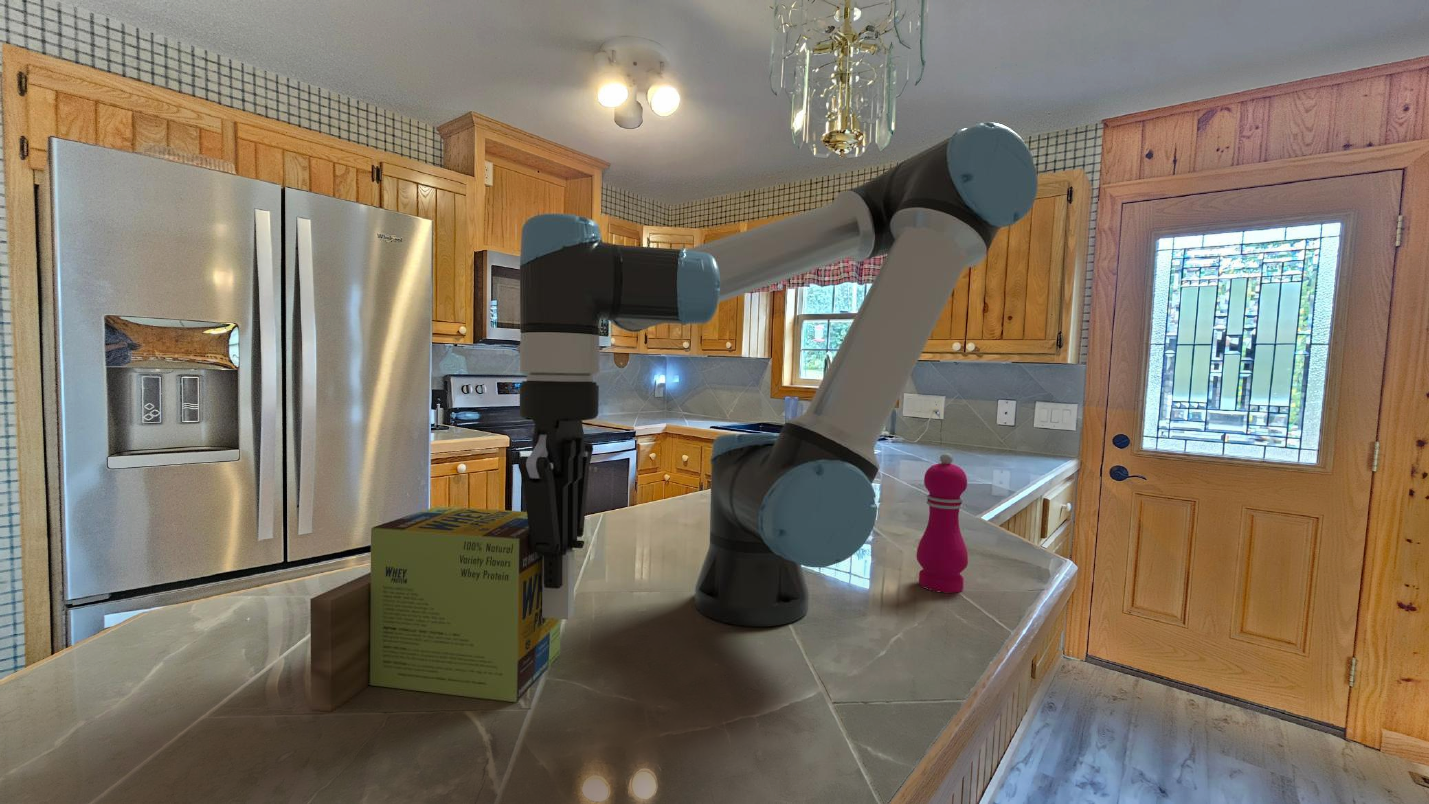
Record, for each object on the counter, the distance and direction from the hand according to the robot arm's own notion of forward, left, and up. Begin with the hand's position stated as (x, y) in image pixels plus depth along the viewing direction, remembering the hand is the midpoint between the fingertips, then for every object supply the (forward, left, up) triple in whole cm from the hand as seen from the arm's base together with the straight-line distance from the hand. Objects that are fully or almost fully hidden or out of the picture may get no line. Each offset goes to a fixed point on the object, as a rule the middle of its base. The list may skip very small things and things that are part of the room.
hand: (558, 615), depth 62 cm
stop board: (+18, 0, -6) cm, 19 cm away
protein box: (+9, 0, -7) cm, 11 cm away
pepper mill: (-44, -38, -7) cm, 59 cm away
